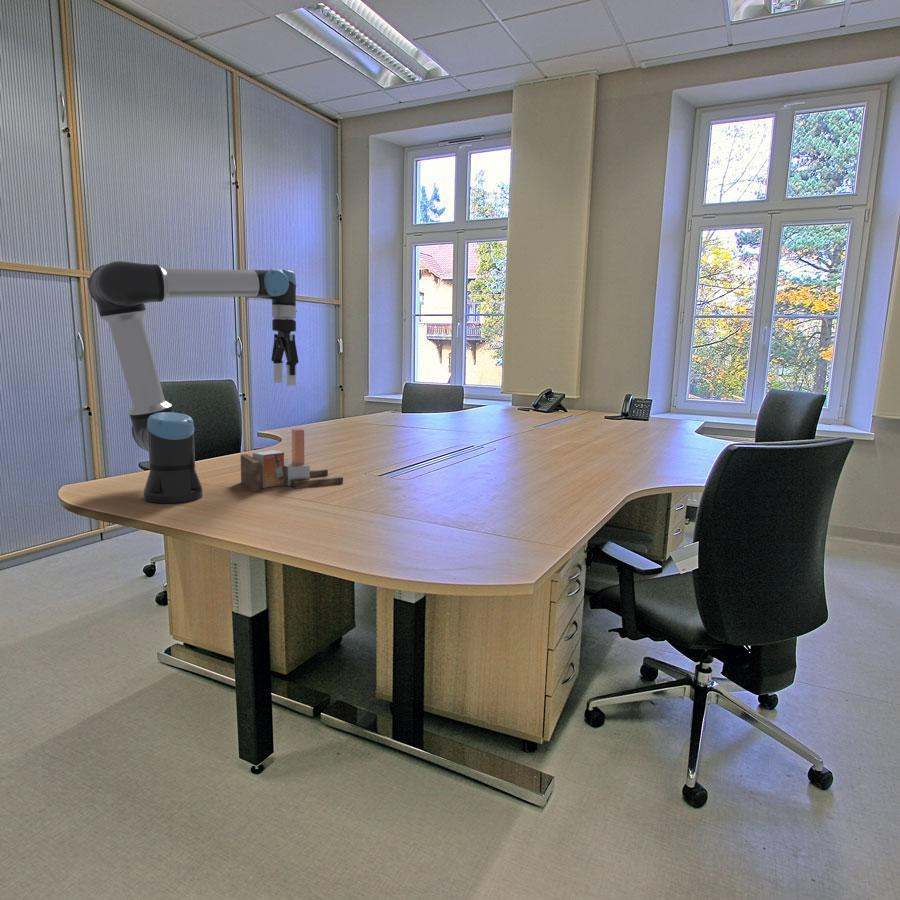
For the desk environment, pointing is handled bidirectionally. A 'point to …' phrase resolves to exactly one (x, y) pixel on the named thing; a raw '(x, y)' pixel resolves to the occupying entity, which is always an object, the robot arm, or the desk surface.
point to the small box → (271, 468)
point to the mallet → (296, 460)
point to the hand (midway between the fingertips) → (284, 384)
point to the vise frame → (253, 481)
